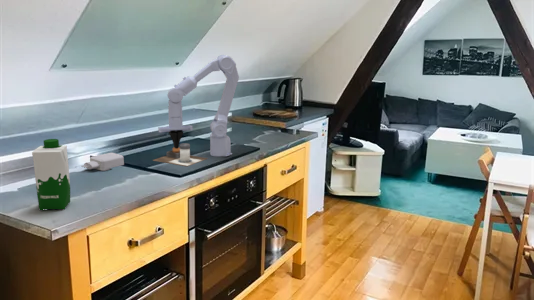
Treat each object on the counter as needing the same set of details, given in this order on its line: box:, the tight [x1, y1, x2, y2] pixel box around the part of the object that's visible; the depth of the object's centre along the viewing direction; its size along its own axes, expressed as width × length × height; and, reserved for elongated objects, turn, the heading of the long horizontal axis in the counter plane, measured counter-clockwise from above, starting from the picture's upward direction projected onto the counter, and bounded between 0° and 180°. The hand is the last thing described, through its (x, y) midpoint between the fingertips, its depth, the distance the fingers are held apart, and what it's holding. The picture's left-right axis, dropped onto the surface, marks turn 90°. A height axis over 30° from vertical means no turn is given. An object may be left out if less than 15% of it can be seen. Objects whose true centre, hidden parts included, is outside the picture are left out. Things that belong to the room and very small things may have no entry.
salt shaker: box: [179, 142, 191, 162], centre depth 183 cm, size 4×4×7 cm
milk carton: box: [31, 138, 71, 211], centre depth 131 cm, size 9×9×20 cm
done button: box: [172, 146, 180, 153], centre depth 191 cm, size 3×3×2 cm
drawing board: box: [152, 149, 209, 167], centre depth 186 cm, size 15×18×3 cm
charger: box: [81, 152, 125, 172], centre depth 173 cm, size 5×9×15 cm
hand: (176, 147), depth 191 cm, fingers closed
